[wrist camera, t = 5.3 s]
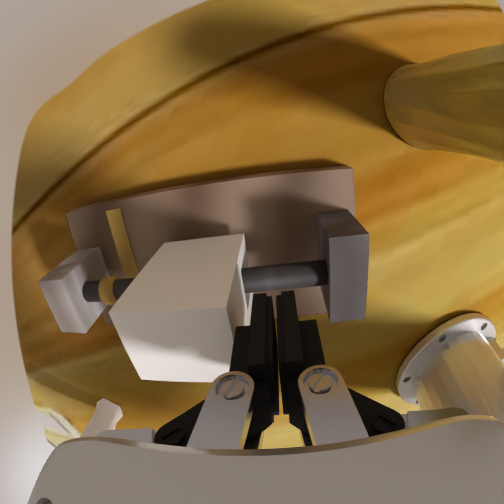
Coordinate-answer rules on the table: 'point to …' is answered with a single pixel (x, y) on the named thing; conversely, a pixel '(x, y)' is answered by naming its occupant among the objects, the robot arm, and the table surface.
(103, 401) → the perfume bottle
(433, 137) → the vase
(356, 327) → the table surface
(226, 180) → the linear slide rail
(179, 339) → the notched white rod block
